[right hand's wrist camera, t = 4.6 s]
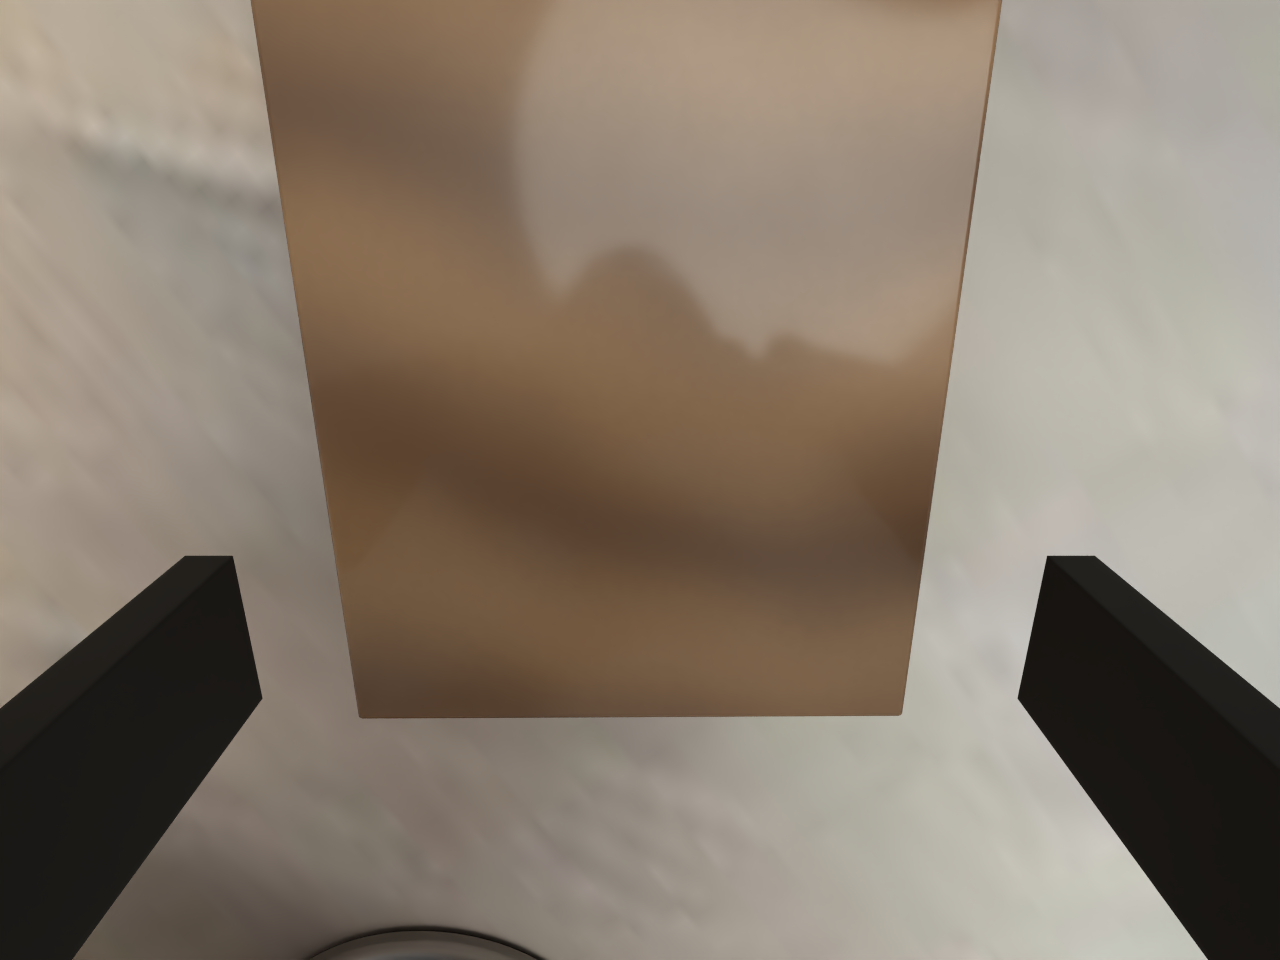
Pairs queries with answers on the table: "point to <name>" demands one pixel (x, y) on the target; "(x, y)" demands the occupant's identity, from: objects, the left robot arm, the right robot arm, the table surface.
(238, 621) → the right robot arm
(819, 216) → the cabinet
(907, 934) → the table surface
